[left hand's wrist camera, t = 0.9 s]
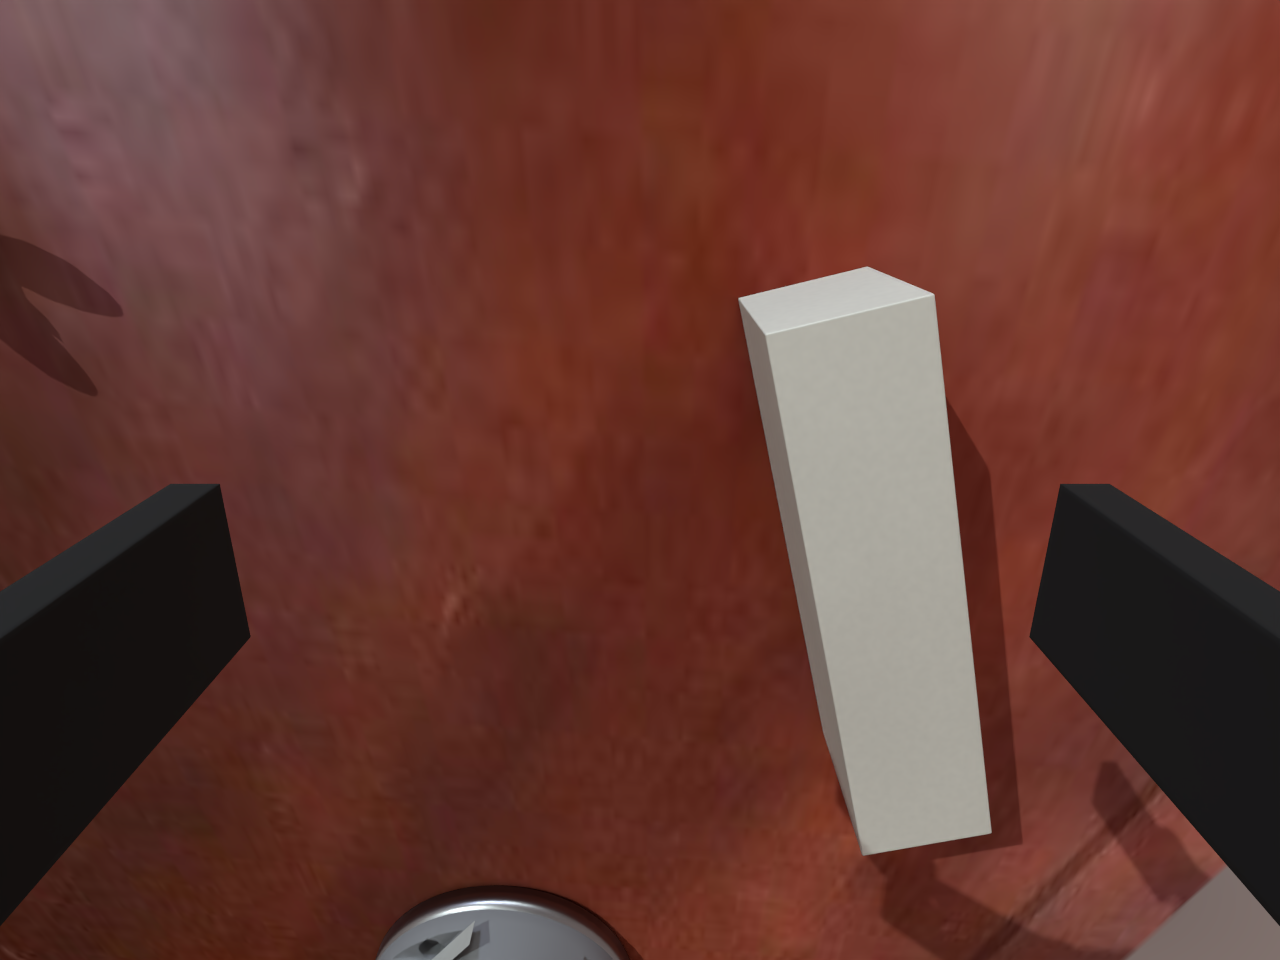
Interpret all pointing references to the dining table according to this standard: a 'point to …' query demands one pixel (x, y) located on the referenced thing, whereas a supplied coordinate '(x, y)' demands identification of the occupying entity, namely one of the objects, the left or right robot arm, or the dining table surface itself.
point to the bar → (874, 547)
